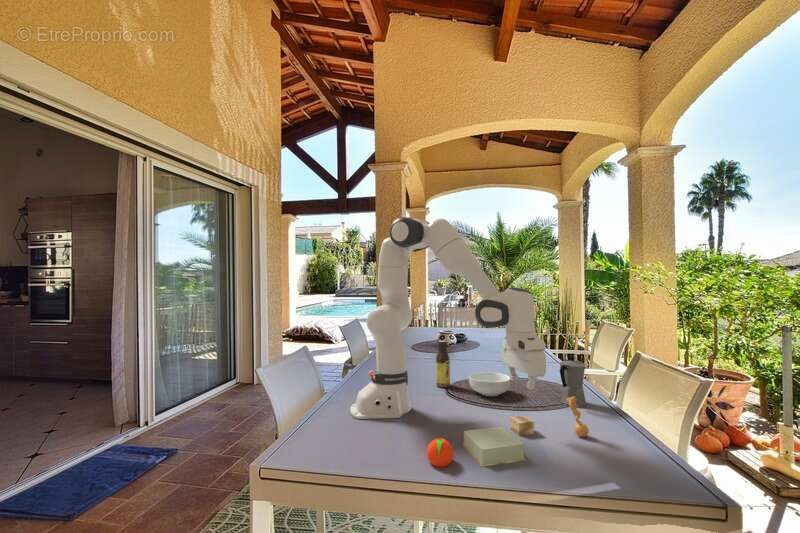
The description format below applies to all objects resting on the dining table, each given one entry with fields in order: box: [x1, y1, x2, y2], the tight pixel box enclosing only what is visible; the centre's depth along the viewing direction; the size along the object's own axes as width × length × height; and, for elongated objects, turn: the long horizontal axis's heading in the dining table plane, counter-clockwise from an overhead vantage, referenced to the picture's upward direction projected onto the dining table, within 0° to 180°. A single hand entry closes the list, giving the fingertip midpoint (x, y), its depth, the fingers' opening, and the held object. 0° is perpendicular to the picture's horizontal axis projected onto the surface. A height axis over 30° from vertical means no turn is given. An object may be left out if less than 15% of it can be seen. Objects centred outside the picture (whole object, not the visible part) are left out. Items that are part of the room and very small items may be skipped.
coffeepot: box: [559, 355, 587, 408], centre depth 147 cm, size 15×9×18 cm, turn 129°
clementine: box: [426, 437, 454, 468], centre depth 101 cm, size 8×7×7 cm
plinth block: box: [463, 426, 525, 465], centre depth 106 cm, size 12×12×4 cm
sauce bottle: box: [435, 340, 451, 389], centre depth 172 cm, size 7×6×20 cm
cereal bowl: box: [468, 371, 512, 397], centre depth 161 cm, size 17×17×7 cm
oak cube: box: [509, 415, 535, 437], centre depth 120 cm, size 5×5×5 cm
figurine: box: [567, 396, 590, 438], centre depth 119 cm, size 8×6×12 cm
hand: (522, 384), depth 120 cm, fingers open, 8 cm apart
